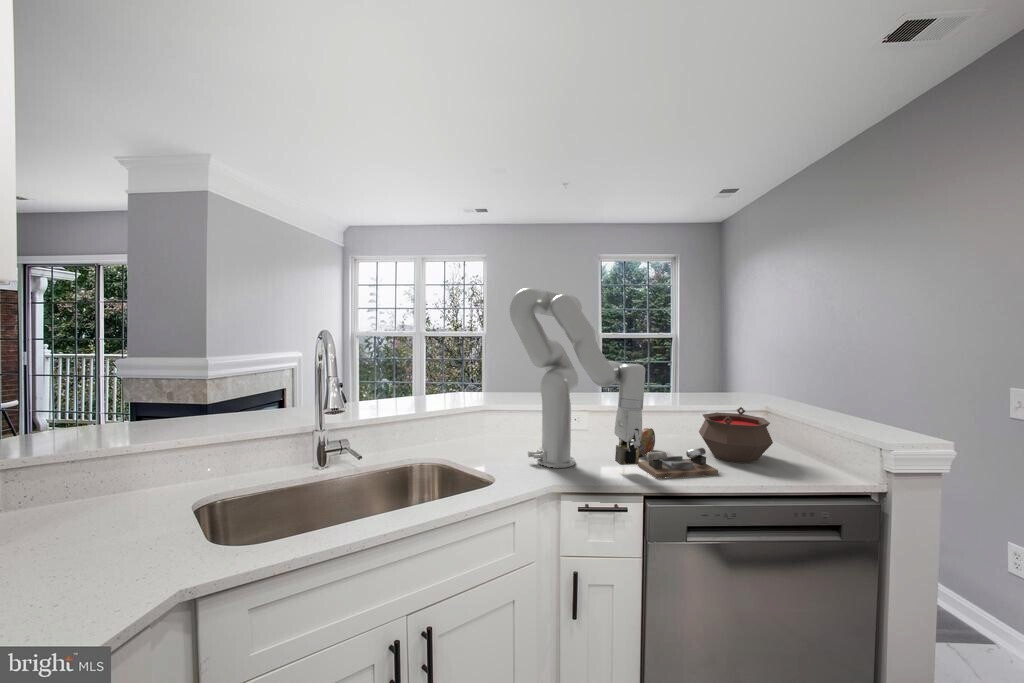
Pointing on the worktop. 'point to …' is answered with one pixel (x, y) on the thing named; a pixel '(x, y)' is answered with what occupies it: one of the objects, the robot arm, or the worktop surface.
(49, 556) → the worktop surface
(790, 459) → the worktop surface
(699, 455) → the shaft
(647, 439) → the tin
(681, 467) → the rig
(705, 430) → the brown cooking pot
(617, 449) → the coupler
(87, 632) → the worktop surface
